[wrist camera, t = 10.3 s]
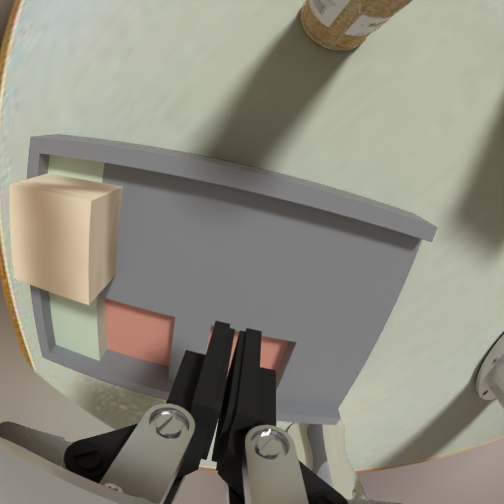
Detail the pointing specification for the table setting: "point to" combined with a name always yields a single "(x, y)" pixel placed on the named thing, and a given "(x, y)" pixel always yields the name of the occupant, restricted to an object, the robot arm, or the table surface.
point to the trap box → (228, 272)
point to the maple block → (65, 234)
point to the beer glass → (327, 456)
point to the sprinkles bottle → (346, 20)
